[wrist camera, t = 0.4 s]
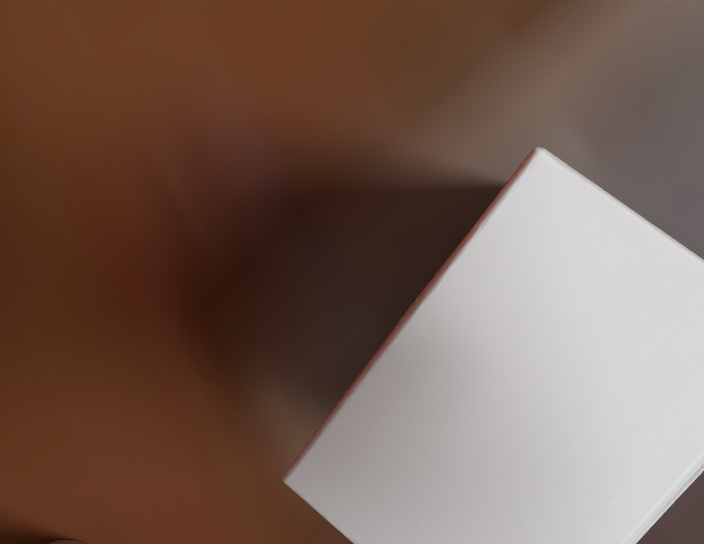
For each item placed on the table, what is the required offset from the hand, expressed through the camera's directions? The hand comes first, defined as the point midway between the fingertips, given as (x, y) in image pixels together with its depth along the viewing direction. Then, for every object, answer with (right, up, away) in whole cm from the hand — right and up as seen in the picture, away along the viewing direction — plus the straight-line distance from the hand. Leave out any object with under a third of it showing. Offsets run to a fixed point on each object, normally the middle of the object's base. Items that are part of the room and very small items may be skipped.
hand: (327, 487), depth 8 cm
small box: (+6, +1, +14) cm, 15 cm away
